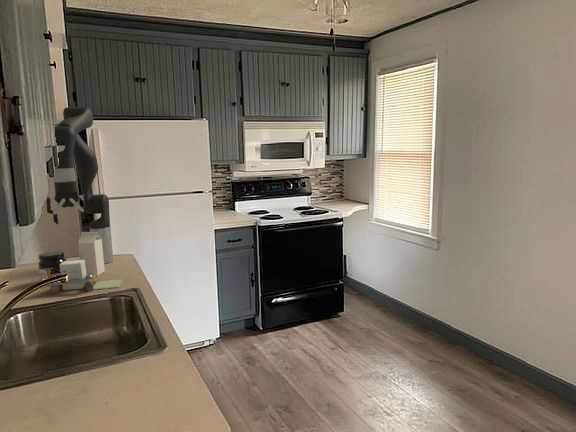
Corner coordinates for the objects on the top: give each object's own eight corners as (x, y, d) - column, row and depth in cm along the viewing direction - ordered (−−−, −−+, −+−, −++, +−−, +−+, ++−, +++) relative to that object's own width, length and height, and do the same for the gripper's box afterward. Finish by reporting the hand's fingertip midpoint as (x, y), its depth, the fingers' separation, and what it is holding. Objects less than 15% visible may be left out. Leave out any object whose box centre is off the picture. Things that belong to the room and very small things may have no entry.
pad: (97, 282, 177) (97, 281, 177) (122, 280, 179) (122, 279, 179) (91, 290, 168) (91, 289, 168) (118, 287, 170) (118, 286, 170)
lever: (39, 285, 164) (38, 278, 164) (93, 280, 168) (92, 273, 168) (37, 287, 162) (36, 280, 161) (92, 282, 166) (91, 275, 165)
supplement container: (39, 286, 174) (35, 257, 172) (41, 279, 184) (38, 252, 182) (68, 282, 179) (65, 254, 177) (69, 276, 188) (66, 249, 186)
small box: (88, 284, 175) (85, 259, 174) (83, 288, 170) (80, 262, 168) (67, 285, 174) (64, 260, 172) (62, 290, 169) (59, 264, 167)
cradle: (61, 283, 177) (60, 275, 177) (100, 280, 180) (100, 272, 180) (50, 295, 163) (49, 286, 162) (92, 291, 166) (91, 282, 166)
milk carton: (97, 276, 186) (93, 233, 183) (81, 276, 186) (76, 233, 184) (104, 271, 193) (100, 230, 190) (89, 272, 194) (85, 230, 191)
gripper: (84, 178, 168) (89, 219, 171) (43, 181, 161) (48, 223, 164) (86, 179, 162) (91, 222, 164) (43, 182, 155) (48, 226, 157)
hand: (69, 222), depth 164 cm, fingers open, 8 cm apart
